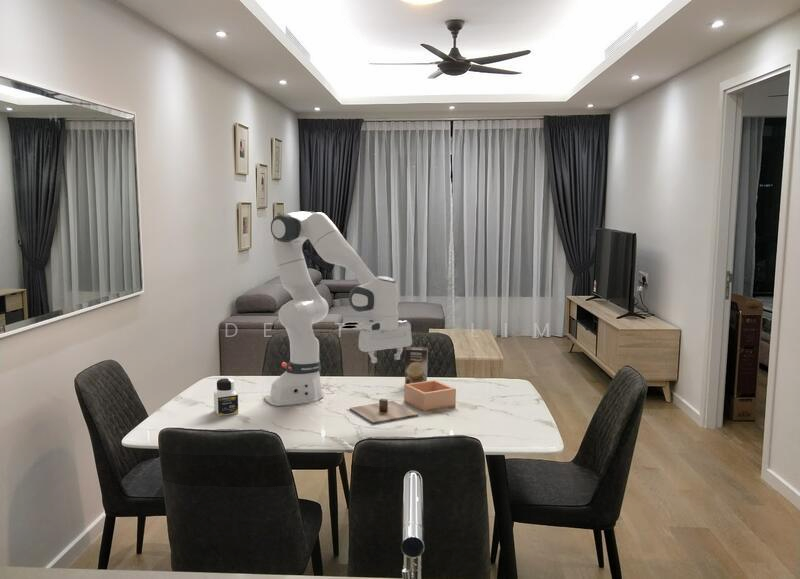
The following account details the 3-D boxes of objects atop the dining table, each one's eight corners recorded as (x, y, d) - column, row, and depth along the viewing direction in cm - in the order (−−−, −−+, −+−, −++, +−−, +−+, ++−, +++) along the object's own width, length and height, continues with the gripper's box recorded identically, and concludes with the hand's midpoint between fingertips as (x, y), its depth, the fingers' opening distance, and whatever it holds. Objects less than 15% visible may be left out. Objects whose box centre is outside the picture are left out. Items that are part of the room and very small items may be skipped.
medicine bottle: (218, 416, 228) (217, 383, 227) (214, 410, 235) (213, 378, 233) (238, 413, 232) (237, 380, 230) (233, 407, 238) (233, 376, 237)
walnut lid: (373, 424, 220) (373, 410, 219) (349, 409, 235) (349, 397, 234) (418, 416, 229) (418, 403, 228) (392, 402, 244) (392, 390, 244)
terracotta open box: (423, 412, 235) (424, 393, 234) (404, 402, 247) (404, 384, 246) (455, 406, 242) (455, 388, 241) (434, 397, 254) (435, 379, 253)
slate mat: (371, 427, 218) (371, 425, 218) (345, 411, 235) (345, 409, 235) (422, 418, 228) (422, 416, 228) (393, 403, 246) (393, 401, 245)
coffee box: (404, 387, 267) (404, 349, 265) (405, 383, 273) (406, 346, 271) (426, 388, 266) (427, 350, 264) (427, 384, 272) (428, 347, 270)
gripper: (406, 318, 236) (405, 356, 238) (356, 323, 225) (356, 362, 227) (415, 321, 231) (415, 359, 233) (365, 326, 220) (365, 366, 222)
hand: (385, 361), depth 230 cm, fingers open, 8 cm apart
